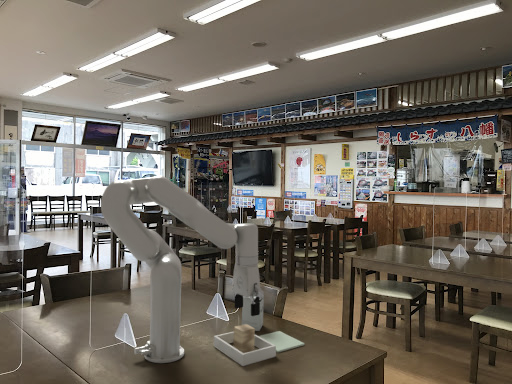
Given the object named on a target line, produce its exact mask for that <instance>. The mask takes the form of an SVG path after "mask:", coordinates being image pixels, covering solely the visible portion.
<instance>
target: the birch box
mask: <svg viewBox="0 0 512 384" xmlns="http://www.w3.org/2000/svg"><path fill="white" fill-rule="evenodd" d="M233 332H234V342H233V347H234V348H236V349H238V350H239V351H241V352H242V353H247V352H250V351H254V350H255V346H254V340H255V335H256V333H255V332H256V331H255V328H253V327H251V326H249V325H247V324H244V325H242V324H241V325H235V326H234V327H233Z"/></svg>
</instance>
